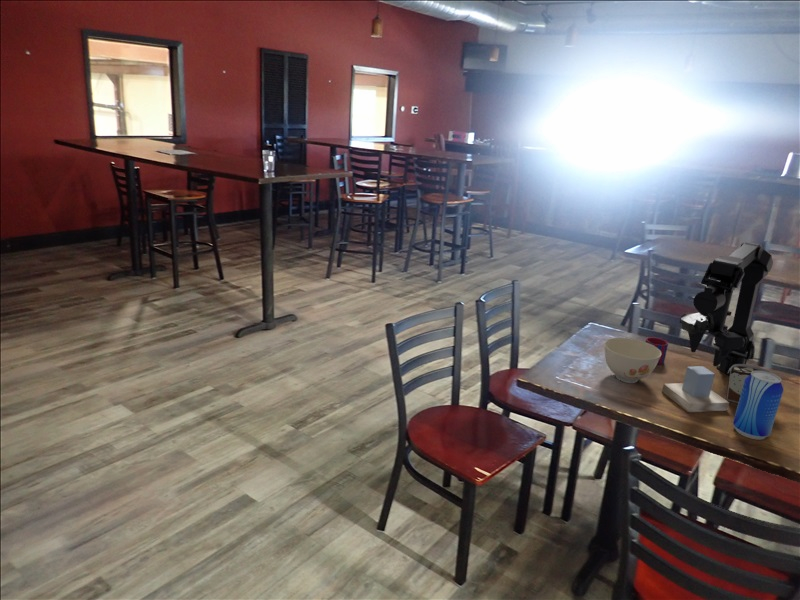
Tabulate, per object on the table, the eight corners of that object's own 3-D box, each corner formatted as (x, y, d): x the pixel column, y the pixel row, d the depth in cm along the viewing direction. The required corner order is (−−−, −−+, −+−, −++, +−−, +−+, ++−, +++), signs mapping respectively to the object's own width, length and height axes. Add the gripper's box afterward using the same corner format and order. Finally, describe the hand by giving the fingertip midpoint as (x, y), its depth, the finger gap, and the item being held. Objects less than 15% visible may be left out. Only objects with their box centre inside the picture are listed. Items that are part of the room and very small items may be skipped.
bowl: (599, 384, 171) (605, 353, 168) (598, 363, 186) (604, 334, 183) (657, 394, 167) (664, 363, 164) (652, 372, 182) (658, 342, 178)
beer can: (759, 444, 144) (777, 386, 139) (725, 429, 151) (740, 373, 145) (774, 435, 149) (792, 379, 144) (741, 420, 155) (756, 366, 150)
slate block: (697, 388, 167) (702, 366, 165) (709, 396, 162) (714, 374, 160) (681, 388, 166) (687, 366, 164) (693, 397, 161) (698, 374, 159)
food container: (770, 402, 167) (779, 370, 163) (770, 411, 161) (779, 378, 158) (721, 390, 172) (729, 359, 169) (720, 398, 167) (729, 366, 164)
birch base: (698, 390, 171) (700, 382, 171) (727, 410, 160) (729, 402, 160) (662, 391, 169) (663, 383, 168) (688, 412, 158) (690, 404, 157)
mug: (638, 359, 190) (642, 340, 188) (649, 351, 198) (653, 333, 195) (659, 366, 186) (664, 346, 184) (670, 358, 193) (674, 339, 191)
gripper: (668, 294, 163) (657, 345, 168) (714, 318, 146) (700, 374, 151) (703, 294, 165) (691, 345, 170) (752, 317, 148) (737, 373, 153)
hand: (703, 358), depth 161 cm, fingers open, 9 cm apart
